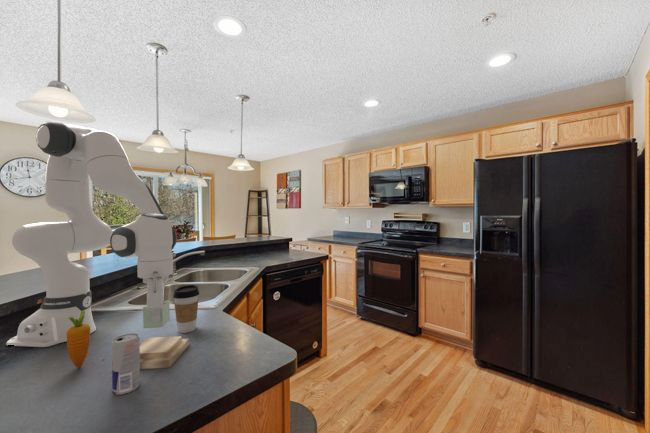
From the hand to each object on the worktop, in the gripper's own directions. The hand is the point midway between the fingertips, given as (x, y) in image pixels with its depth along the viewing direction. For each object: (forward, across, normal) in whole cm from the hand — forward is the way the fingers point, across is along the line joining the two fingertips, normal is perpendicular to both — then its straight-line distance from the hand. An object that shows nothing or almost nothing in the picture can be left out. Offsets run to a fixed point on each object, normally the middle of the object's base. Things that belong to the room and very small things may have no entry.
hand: (156, 317), depth 81 cm
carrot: (+12, +4, +18) cm, 22 cm away
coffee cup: (+12, +17, -9) cm, 22 cm away
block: (+2, 0, 0) cm, 2 cm away
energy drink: (+12, -14, +6) cm, 19 cm away
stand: (+12, 0, 0) cm, 12 cm away
